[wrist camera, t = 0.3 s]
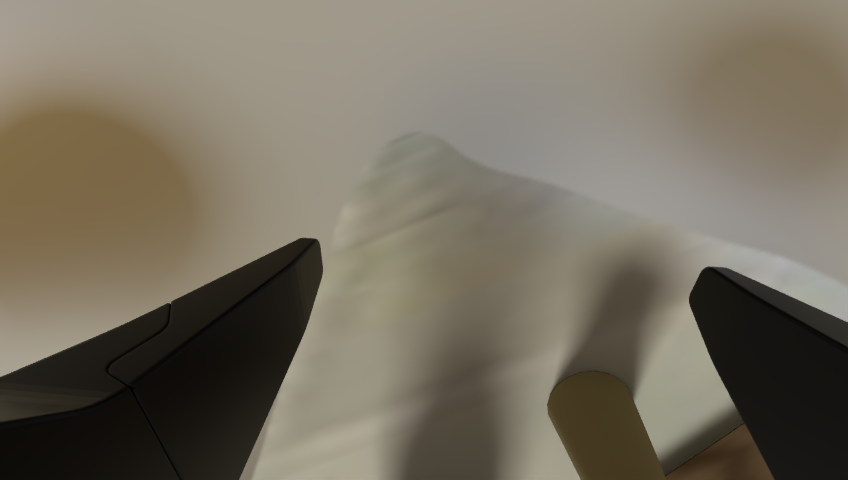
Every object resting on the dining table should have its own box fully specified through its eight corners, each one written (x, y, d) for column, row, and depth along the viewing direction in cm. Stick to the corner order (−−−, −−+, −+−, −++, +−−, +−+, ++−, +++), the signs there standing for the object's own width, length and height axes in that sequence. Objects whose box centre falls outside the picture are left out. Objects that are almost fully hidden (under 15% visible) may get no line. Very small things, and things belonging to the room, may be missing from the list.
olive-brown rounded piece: (538, 381, 28) (589, 543, 17) (624, 362, 27) (733, 522, 16) (557, 445, 29) (613, 627, 19) (638, 429, 28) (745, 612, 18)
